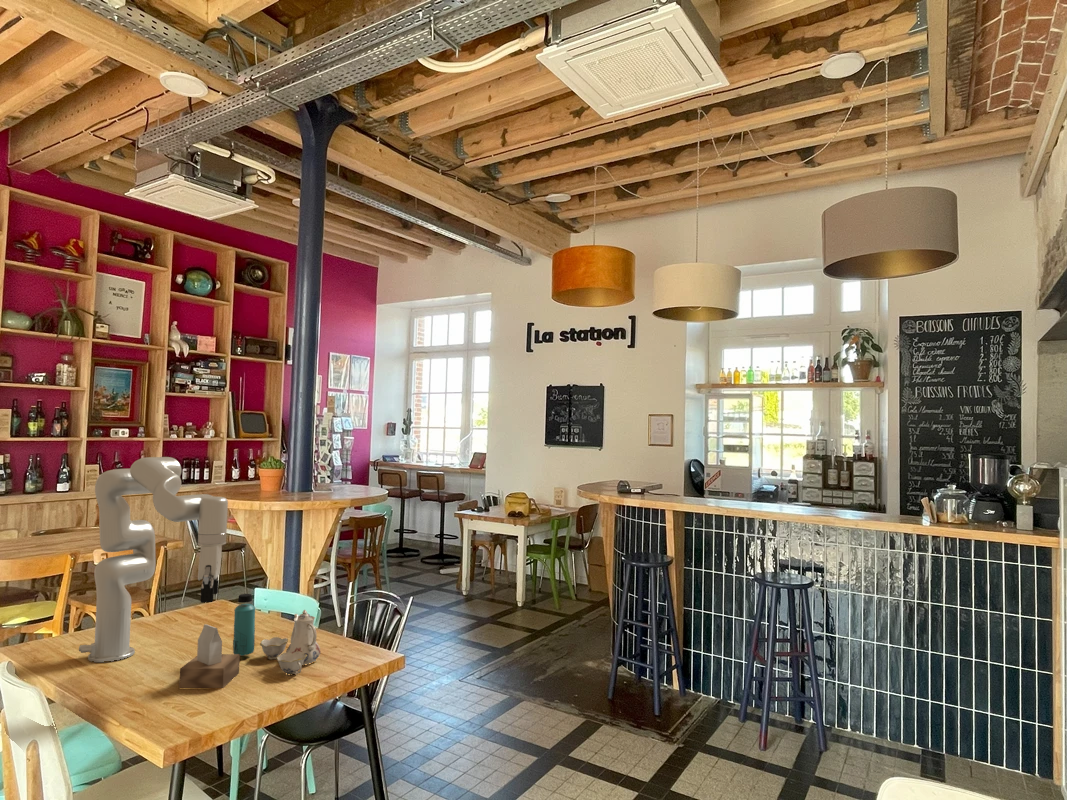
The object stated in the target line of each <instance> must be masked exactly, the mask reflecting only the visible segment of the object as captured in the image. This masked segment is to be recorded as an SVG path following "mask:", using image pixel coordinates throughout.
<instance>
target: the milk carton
mask: <svg viewBox="0 0 1067 800" xmlns="http://www.w3.org/2000/svg"><path fill="white" fill-rule="evenodd" d="M222 650H223V640H222V638H221V636H220V634H219V631H218V628H217V627H214V626H211V625H209V624H206V623H205V624H204V625H203V627H202V630H201V632H200V634H199V637H198V639H197V650H196V651H197V655H196V656H197V661H200V662H202V663H204V664H207V665H212V664H216V663H219V662H221V659H222V654H223V651H222Z"/></svg>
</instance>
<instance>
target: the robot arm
mask: <svg viewBox="0 0 1067 800" xmlns="http://www.w3.org/2000/svg"><path fill="white" fill-rule="evenodd" d="M181 475H182V466H181V464H180V462H179V461H178V460H177V459H176V458H174V457H172V456H170V457H169V456H151V457H147V456H146V457H141V458H139V459H137V460H135V461H134V462H133V463H132V464H131V466H130V468H115V469H110V470H106V471H104V472H102V473H101V474H100V475H98V477H97V479H96V481H95V485H94V494H95V495H94V496H95V499H96V501H97V506H98V511H99V512H98V513H99V514H98V515H99V517H98V519H99V525H98V526H99V546H100V548H101V550H102V551H104V552H105V553H117V552H125V551H132V552H133V553H129V554H121V555H115V556H111V557H107V558H104V559H102V560H100V561H99V562H98V563H97V564H96V565H95V567H94V570H93V571H94V572H93V573H94V575H93V576H94V582H95V587H96V588H95V589H96V606H95V608H96V609H95V610H96V611H95V628H94V630H95V631H94V643H93V642H92V643H91V644H80V645H79V647H78V651H79V652H80V653H82V654H83V653H89V654H88V656H87V660H88V661H90V662H92V661H94V662H93V663H105V662H104V661H111V662H115V661H114V660H117V661H121V660H125V659H127V657H128V658H130V657H131V656H133V655H135V651H136V650H135V648H134V647H131V646H130V639H131V623H132V622H131V619H132V618H131V616H132V596H131V594H130V592H129V591H128V590H127V589H126V586H127V585H130V584H135V583H140V582H145V581H147V580H150V579H151V578H152V577H153V575H154V574H155V570H156V566H157V565H156V562H157V561H156V534H155V533H156V532H155V529H154V526H153V525H152V523H151V522H149V521H148V520H146V519H136V520H135V519H133V520H132V519H131V507H130V504H129V503H128V502H127V500H126V499H125V498H124V497H123V496H127V495H128V496H129V495H130V496H131V495H143V494H144V495H146V494H152V504H153V506H154V509H155V511H156V512H157V513H159V515H161V516H163V517H164V518H165V519H167V520H169V521H170V522H175V523H179V522H180V523H181V522H189V521H198V532H197V533H198V535H197V545H198V546H199V547H200V550H199V551H200V552H199V559H198V572H197V573H198V574H197V580H198V581H201V580H202V582H201V583H202V584H201V588H200V603H201V604H205V603H213V602H214V595H218V594H219V593H218V592H219V581H220V580H219V575H220V573H221V567H222V566H221V564H222V553H223V551H222V550H223V549H222V546H224V545H226V544H227V533H228V530H227V529H228V512H229V511H228V506H229V502H228V499H227V498H226V497H224V496H215V495H211V494H208V493H202V494H201V493H200V494H189V495H188V494H187V495H185V494H184V495H177V494H178V492H179V491H180V489H181V487H182V479H181ZM124 658H125V659H124ZM120 659H121V660H120Z"/></svg>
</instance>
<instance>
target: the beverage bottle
mask: <svg viewBox="0 0 1067 800" xmlns="http://www.w3.org/2000/svg"><path fill="white" fill-rule="evenodd" d="M252 601H253V595H252V593H241V594H239V595H238V599H237V602H238V603H241V604H238V605H237V606H236V607H235V608H234V620H233V621H234V622H233V639H232V654H240V657H241V656H248V655H251V654H253V653H254V652H255V646H256V643H255V642H256V639H255V638H256V635H255V634H256V633H255V632H256V625H255V624H256V606H254V605H253V604H252V603H250V602H252Z"/></svg>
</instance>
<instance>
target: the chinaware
mask: <svg viewBox="0 0 1067 800" xmlns="http://www.w3.org/2000/svg"><path fill="white" fill-rule="evenodd" d="M315 619H316V617H315V616H313V615H310V614H309V613H308V612H307V610H306V609H304V610H303V611H302V612H301V613H300V614H298V613H294V618H293V620H294V624H293V628H292V632H291V636H290V644H289V645H288V647H287V649H286V646H287V644H288V642H289V639H288V637H284V638H282V637H279V636H278V637H277V636H276V637H272V638H270V639H265V638H264V639H262V640H261V641H260V643H259V646H261V649H262V652H263V654H264V655H266V656H267V659H269V660H276V661H277V662H278V665H279V668H280V669H281V670H282V671H283V672H284V673H285V674H286V673H287V674H295V675H297V674H300V673H302V672H301V671H302V667H303V666H302V665H305V664H309V663H312V662H314V661H316V659H317V660H318V658H319V657H320V655H321V653H322V652H321V647H320V644H318V642H317V637H318V636H317V634H318V633H317V629H316V627H315V625H314V622H315ZM285 649H286V651H285V652H284V650H285ZM316 662H317V661H316ZM305 666H306V665H305Z"/></svg>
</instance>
